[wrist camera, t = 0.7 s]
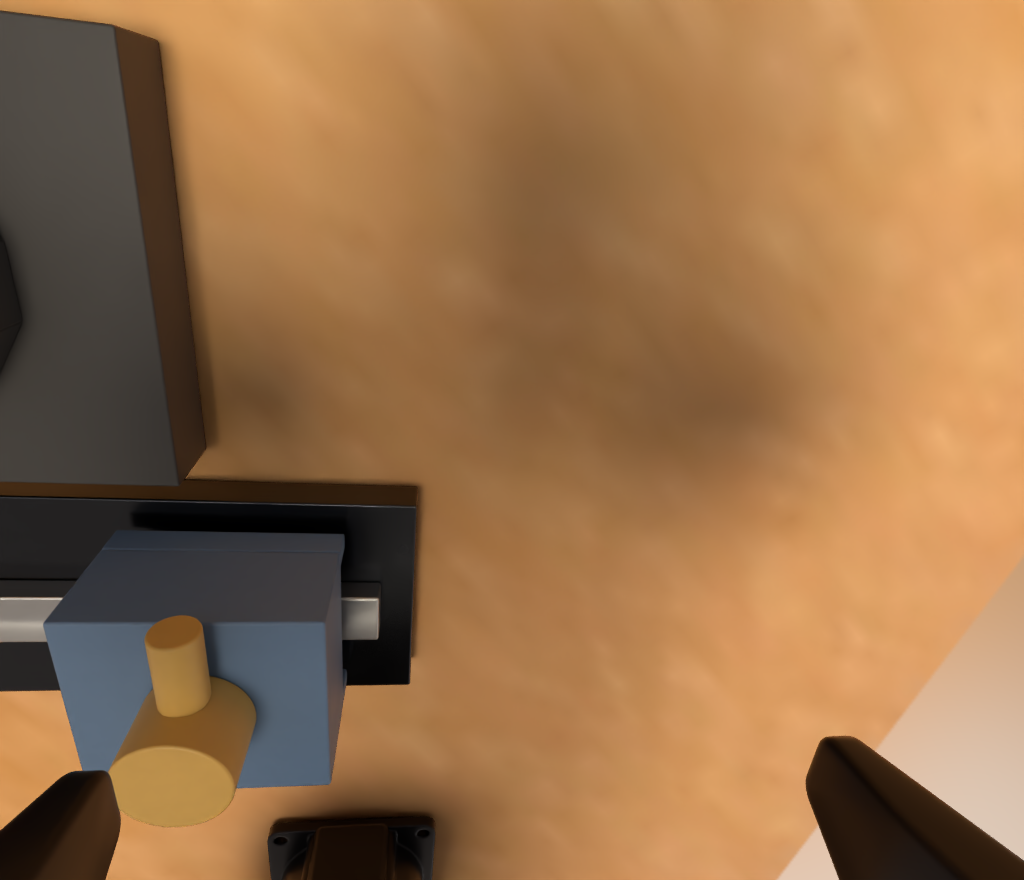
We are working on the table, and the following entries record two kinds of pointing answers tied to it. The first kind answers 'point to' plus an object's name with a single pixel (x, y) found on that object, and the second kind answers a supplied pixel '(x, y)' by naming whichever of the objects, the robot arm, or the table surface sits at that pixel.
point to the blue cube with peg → (203, 666)
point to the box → (91, 263)
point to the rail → (208, 508)
